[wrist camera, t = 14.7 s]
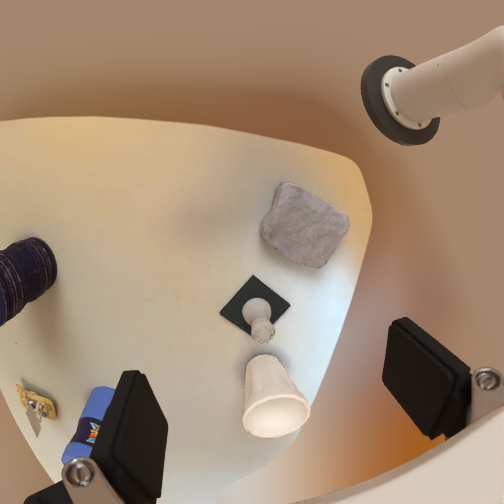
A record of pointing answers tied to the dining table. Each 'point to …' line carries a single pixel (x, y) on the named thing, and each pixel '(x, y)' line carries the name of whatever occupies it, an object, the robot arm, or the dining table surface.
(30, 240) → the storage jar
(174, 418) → the dining table surface
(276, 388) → the cup
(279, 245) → the stone block
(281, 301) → the mat
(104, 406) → the water bottle
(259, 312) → the rook chess piece
